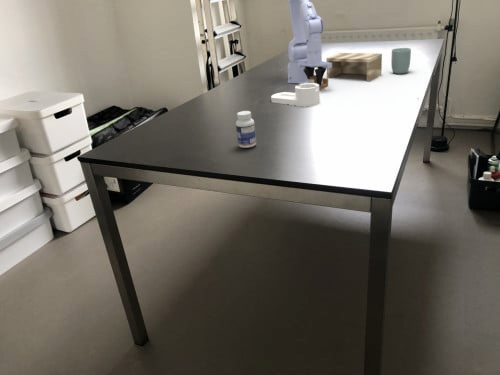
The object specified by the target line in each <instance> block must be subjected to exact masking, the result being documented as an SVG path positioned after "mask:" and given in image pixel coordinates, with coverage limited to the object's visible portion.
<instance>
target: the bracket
mask: <svg viewBox="0 0 500 375" xmlns="http://www.w3.org/2000/svg"><path fill="white" fill-rule="evenodd" d="M294 90H295V91H294V92H288V91H283V92H277V93H274V94H272V95H271V96H270V98H271V99H270V100H271V101H270V102H271V103H274V104H282V105H287V104H289V105H290V106H294V105H296V107H301V106H311V107H313V106H317V105H319V104H320V103H321V100H320V91H319V84H316V83H304V84H299V83H298V85H295V87H294Z"/></svg>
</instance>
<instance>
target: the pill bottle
mask: <svg viewBox="0 0 500 375" xmlns="http://www.w3.org/2000/svg"><path fill="white" fill-rule="evenodd" d="M236 117H237V118H236V119H237V120H236V122H235V128H236V136H237V144H238V146H239V147H240V148H252V147H254V146H255V145H257V137H256V135H257V134H256V126H255V125H256V124H255V120H254V119H253V118H252V112H251V111H250V110H242V111H239V112H236Z"/></svg>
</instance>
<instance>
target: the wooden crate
mask: <svg viewBox="0 0 500 375" xmlns="http://www.w3.org/2000/svg"><path fill="white" fill-rule="evenodd" d="M382 59H383V53H365V52H363V53H361V52H360V53H359V52H356V53H355V52H353V53H352V52H339V53H337V54H336V53H335V54H333V55H331V56H328V57H326V59H325V60H326V61H325V62H329V63H332V68H330V69H327V68H326V78H328V79H332V78H333V77H335V76H337V75H340V74H350V75H351V74H353V75H366V82H368V83H370V82H372V81H374V80H375V79H377V78H379V77H381V76H382V71H383V70H382V67H383V62H382V61H383V60H382Z"/></svg>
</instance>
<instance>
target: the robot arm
mask: <svg viewBox="0 0 500 375" xmlns="http://www.w3.org/2000/svg"><path fill="white" fill-rule="evenodd" d="M287 5H288V12H289V16H290V23H291V30H292V32H291V33H292V39H291V40H290V41H289V42H288V45H287V47H288V50H287V51H288V52H287V53H288V54H287V55H288V59H289V62H288V64H287V78H288V80H287V83H288V84H298V85H299V84H304V83H307V80H308V79H310V76H313V75H316V78H317V84H319V86H321V83H322V79H323V78H324V76H325V72H327V69H330V68H332V63H329V62H326V61H322V59H323V58H322V55H323V54H322V33H323V32H324V22H323V21H324V20H323V19H322V17H321V16H320V15H318V13H317V11H316V10H317V9H316V8H315V5H314V3H313V2H312V1H310V0H287Z"/></svg>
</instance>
